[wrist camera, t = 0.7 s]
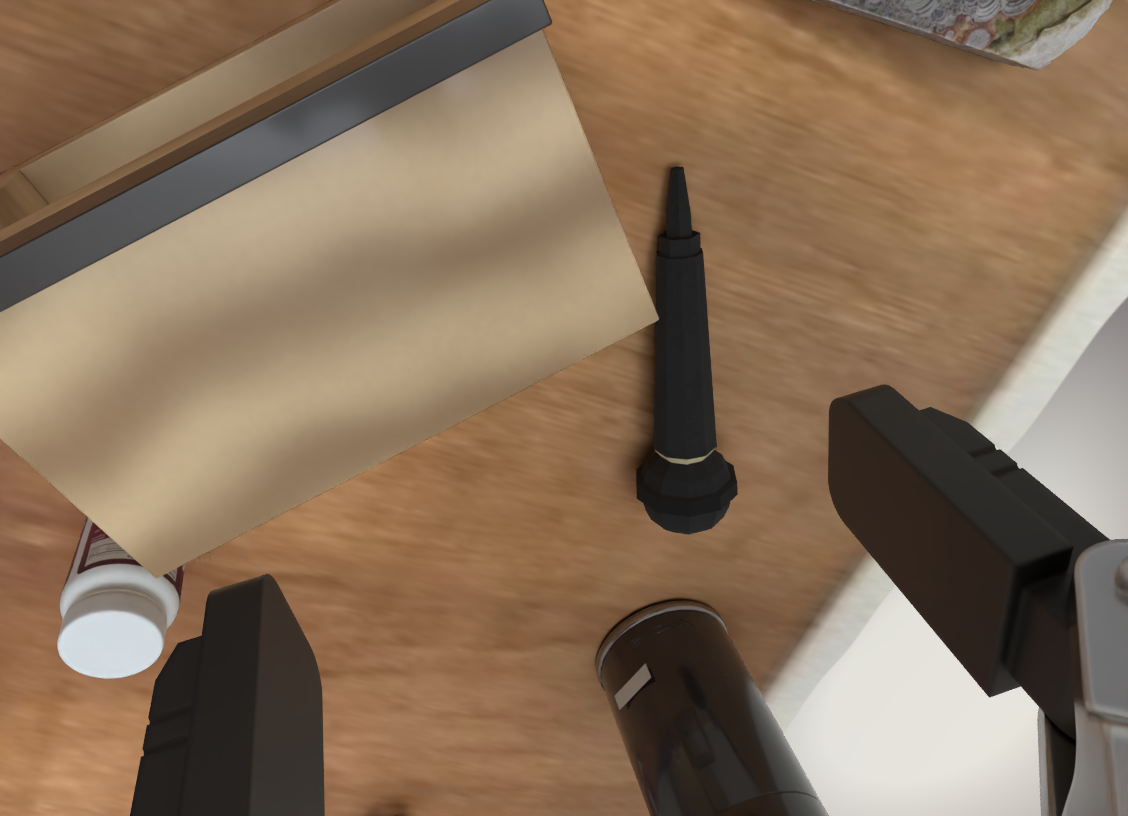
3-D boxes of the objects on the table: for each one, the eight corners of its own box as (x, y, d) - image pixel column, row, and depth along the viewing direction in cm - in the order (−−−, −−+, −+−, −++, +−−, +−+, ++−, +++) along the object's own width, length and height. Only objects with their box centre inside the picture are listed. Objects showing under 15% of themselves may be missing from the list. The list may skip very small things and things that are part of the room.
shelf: (570, 205, 39) (679, 344, 28) (191, 402, 39) (148, 616, 28) (452, -64, 32) (534, -24, 21) (-8, 178, 32) (-171, 345, 21)
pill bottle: (155, 569, 44) (129, 699, 37) (66, 528, 41) (21, 660, 34) (212, 511, 43) (196, 633, 36) (125, 465, 40) (90, 588, 33)
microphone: (618, 160, 41) (637, 498, 51) (618, 186, 36) (639, 557, 45) (730, 152, 41) (729, 495, 50) (745, 176, 36) (741, 554, 45)
